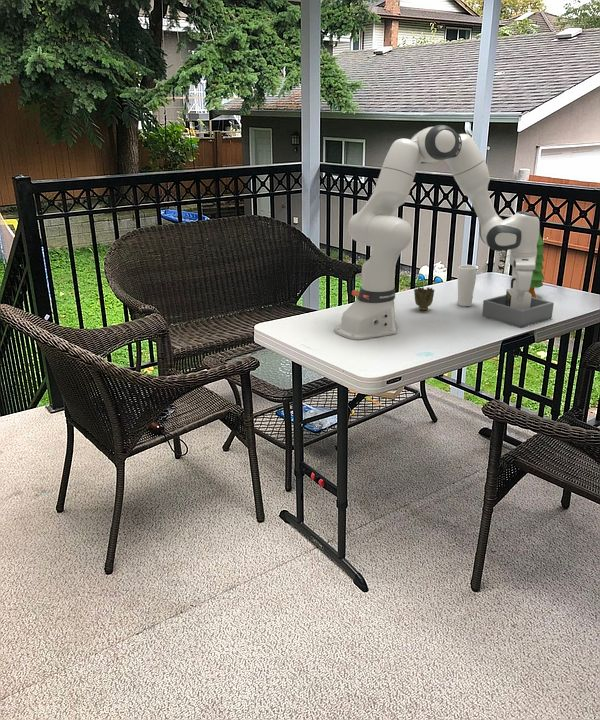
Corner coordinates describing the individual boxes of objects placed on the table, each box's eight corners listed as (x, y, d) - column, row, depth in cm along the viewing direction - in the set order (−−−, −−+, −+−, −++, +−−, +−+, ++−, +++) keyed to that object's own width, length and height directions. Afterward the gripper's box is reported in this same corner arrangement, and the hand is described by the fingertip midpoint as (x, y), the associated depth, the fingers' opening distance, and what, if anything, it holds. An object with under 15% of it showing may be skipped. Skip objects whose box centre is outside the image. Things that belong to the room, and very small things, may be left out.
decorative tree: (518, 300, 249) (527, 223, 238) (514, 293, 257) (522, 219, 246) (544, 300, 247) (554, 223, 236) (538, 294, 256) (548, 219, 245)
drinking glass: (475, 307, 241) (478, 268, 236) (457, 307, 241) (460, 269, 236) (471, 302, 247) (474, 264, 242) (454, 302, 248) (456, 264, 242)
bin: (520, 328, 218) (522, 311, 216) (482, 316, 231) (483, 300, 229) (551, 318, 226) (553, 302, 224) (512, 307, 240) (514, 292, 237)
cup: (411, 312, 237) (412, 291, 235) (414, 306, 244) (415, 286, 241) (431, 313, 235) (433, 292, 232) (434, 307, 242) (435, 287, 239)
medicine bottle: (504, 307, 232) (507, 275, 227) (524, 307, 231) (528, 275, 226) (509, 314, 225) (512, 281, 221) (529, 313, 225) (533, 281, 220)
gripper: (510, 252, 231) (506, 289, 236) (516, 265, 212) (512, 305, 218) (528, 253, 230) (523, 290, 235) (536, 266, 211) (531, 306, 216)
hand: (518, 297), depth 226 cm, fingers closed on medicine bottle, 7 cm apart
